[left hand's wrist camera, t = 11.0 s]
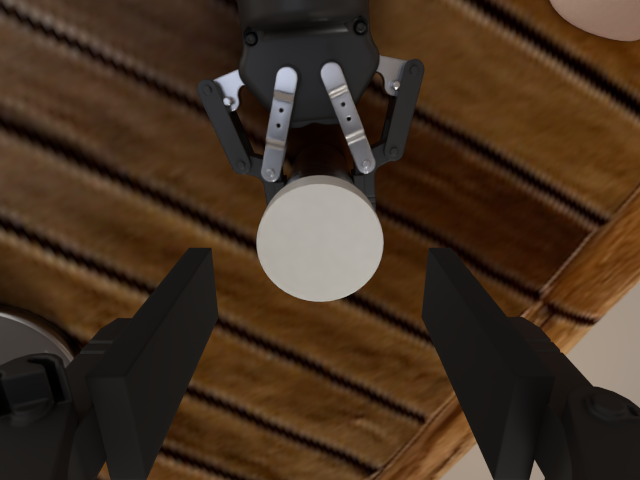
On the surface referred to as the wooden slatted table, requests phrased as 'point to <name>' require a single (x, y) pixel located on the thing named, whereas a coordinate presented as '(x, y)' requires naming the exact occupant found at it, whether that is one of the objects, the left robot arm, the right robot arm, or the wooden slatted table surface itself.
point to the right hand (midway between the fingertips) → (323, 226)
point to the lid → (320, 239)
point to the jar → (319, 163)
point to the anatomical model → (603, 17)
